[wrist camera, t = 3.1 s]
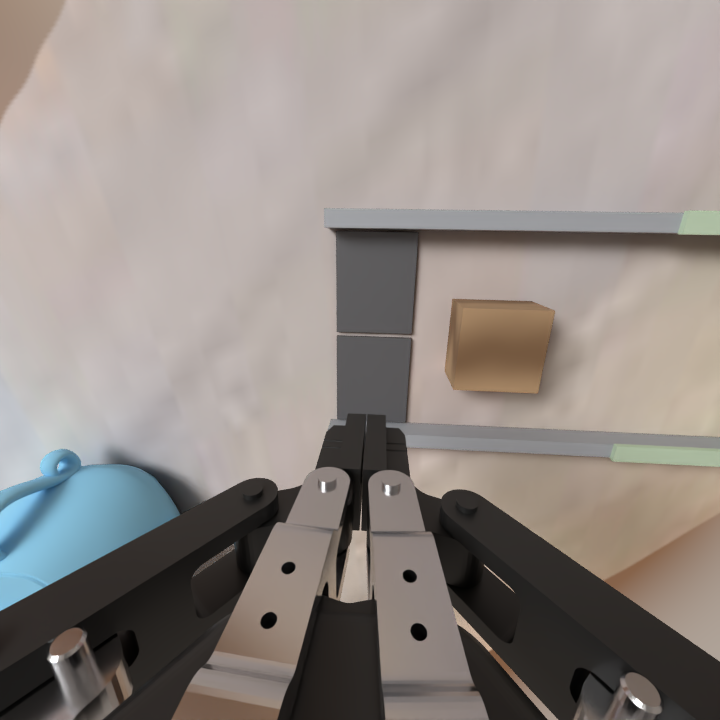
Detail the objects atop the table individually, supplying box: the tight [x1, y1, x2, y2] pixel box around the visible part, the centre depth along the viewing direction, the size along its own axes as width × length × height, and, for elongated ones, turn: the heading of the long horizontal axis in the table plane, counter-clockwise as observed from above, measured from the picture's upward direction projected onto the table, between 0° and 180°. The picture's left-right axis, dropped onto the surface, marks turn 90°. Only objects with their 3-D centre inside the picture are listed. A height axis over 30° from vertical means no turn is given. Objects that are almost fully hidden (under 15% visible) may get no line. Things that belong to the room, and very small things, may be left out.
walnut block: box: [445, 299, 555, 393], centre depth 26 cm, size 6×6×4 cm
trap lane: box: [324, 208, 720, 467], centre depth 26 cm, size 19×34×2 cm, turn 89°
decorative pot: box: [0, 449, 180, 611], centre depth 29 cm, size 16×16×14 cm
